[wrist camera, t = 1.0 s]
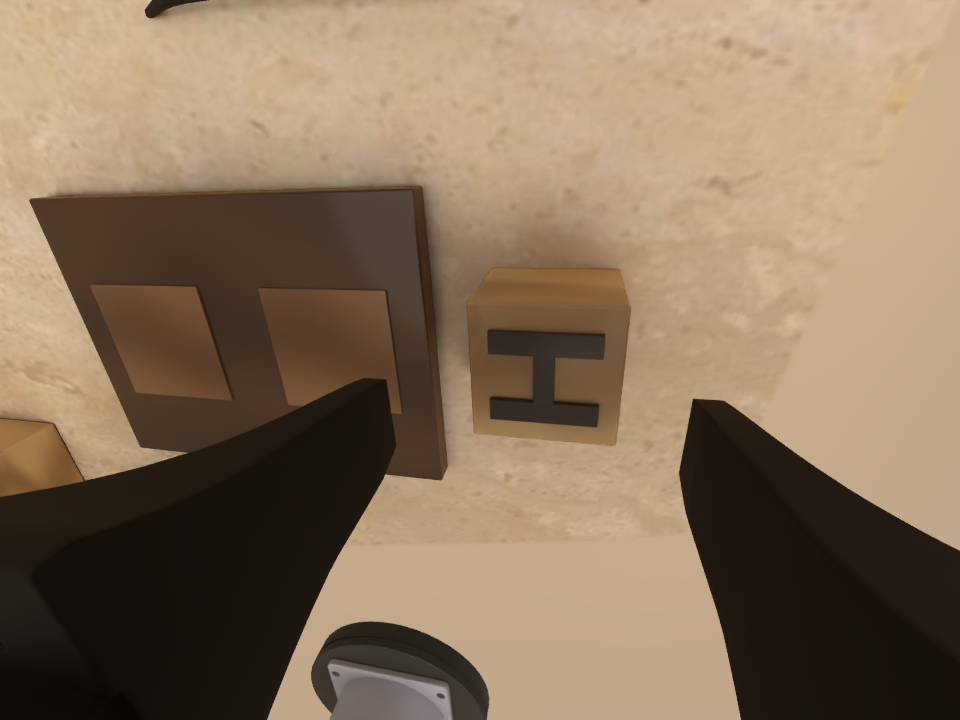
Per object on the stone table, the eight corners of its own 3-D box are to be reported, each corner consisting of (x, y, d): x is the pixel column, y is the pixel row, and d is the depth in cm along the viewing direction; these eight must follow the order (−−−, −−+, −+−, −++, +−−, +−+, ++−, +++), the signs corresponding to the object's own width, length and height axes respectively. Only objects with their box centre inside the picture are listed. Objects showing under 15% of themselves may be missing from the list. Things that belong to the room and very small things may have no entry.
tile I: (86, 485, 27) (7, 539, 23) (29, 477, 28) (-56, 528, 24) (53, 423, 25) (-39, 472, 21) (-7, 417, 26) (-106, 463, 22)
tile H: (609, 383, 17) (616, 450, 13) (495, 376, 18) (472, 437, 14) (619, 269, 15) (632, 310, 11) (491, 267, 16) (464, 305, 12)
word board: (448, 466, 20) (441, 483, 19) (156, 436, 24) (138, 449, 23) (423, 185, 15) (411, 188, 14) (53, 196, 18) (24, 199, 17)
